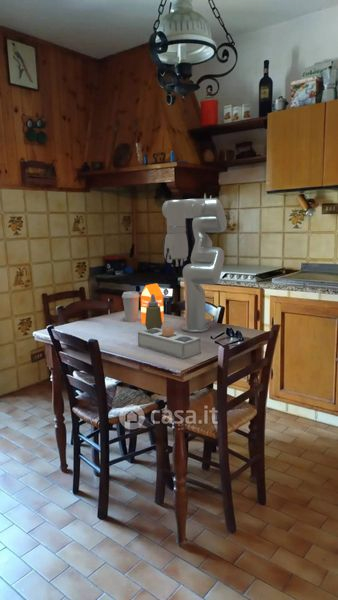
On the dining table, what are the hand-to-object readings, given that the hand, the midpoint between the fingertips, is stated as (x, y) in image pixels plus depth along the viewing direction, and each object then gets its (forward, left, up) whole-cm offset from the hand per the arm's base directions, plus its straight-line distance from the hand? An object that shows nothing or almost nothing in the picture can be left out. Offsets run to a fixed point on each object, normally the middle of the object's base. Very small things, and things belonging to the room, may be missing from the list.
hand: (177, 275), depth 177 cm
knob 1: (+9, -6, -28) cm, 30 cm away
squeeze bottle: (-6, -22, -29) cm, 37 cm away
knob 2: (+9, +12, -28) cm, 31 cm away
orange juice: (-18, -36, -29) cm, 50 cm away
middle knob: (+9, +3, -25) cm, 27 cm away
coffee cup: (-14, -48, -29) cm, 58 cm away
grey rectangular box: (+9, +3, -29) cm, 31 cm away
